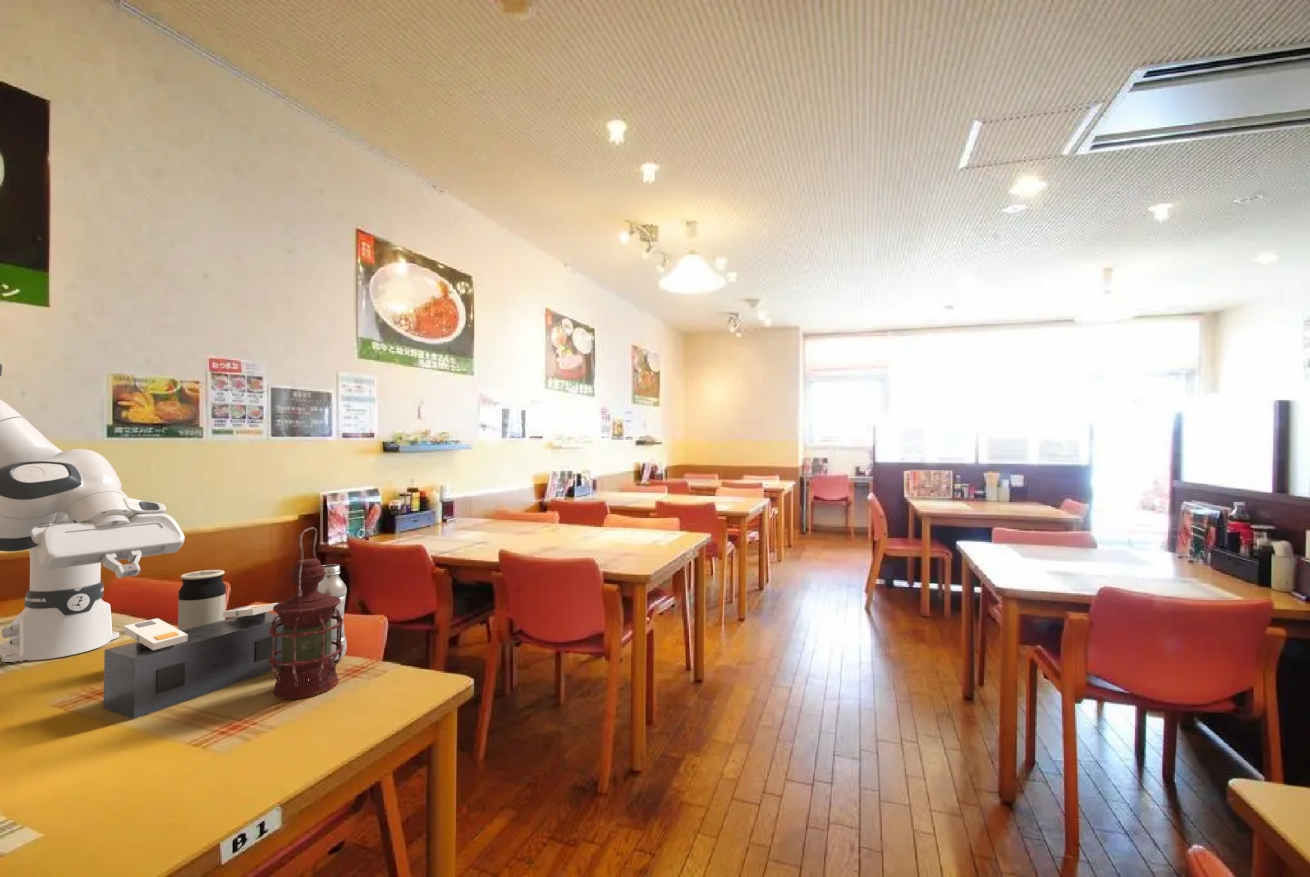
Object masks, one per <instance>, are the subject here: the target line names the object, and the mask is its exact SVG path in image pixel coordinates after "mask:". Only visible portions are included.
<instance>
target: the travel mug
mask: <svg viewBox="0 0 1310 877" xmlns="http://www.w3.org/2000/svg"><path fill="white" fill-rule="evenodd" d="M224 574H226V573H225V570H222V569H208V570H206V569H205V570H198V571H192V572H187V573H183V574H181V575H180V576H179V577H180V579H181V581H182V586H181V587H180V589H179V590H178V602H177V603H178V604H177V605H178V607H177V608H178V611H177V612H178V614H177V615H178V616H177V617H178V618H177V629H178V630H180V631H182V630H186V629H190V628H194V627H198V626H202V625H206V624H210V623H214V622H218V621H222V620H226V618H223V612H225V611H226V599H227V598H226V597H227V596H226V592H227V590H226V589H227V588H226V584H225V582H224V581H223V578H224V577H223V576H224Z"/></svg>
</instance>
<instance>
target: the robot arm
mask: <svg viewBox="0 0 1310 877" xmlns="http://www.w3.org/2000/svg"><path fill="white" fill-rule="evenodd" d="M2 372H3V365H2V363H1V362H0V377H1V376H2ZM166 511H167V507H166V505H165V504H163V503H162V502H155V501H148V500H142V499H141V500H140V499H136V498H132V497H128V495H127V494H126V493H125V492H124V491H123V489H122V482H121V479H120V477H119V476H118V474H117V472H116V471H115V469H114V467H113V465H112V464H111V463H110V461H108V460H107V458H105V457H104V456H103V455H102V454H100V453H98V452H97V451H94V450H91V449H86V448H85V449H84V448H73V449H68V450H64V451H63V450H61V449H60V448H59V447H57V446H56V445H55V444H54V443H52V442H51V441H50V440H49V439H48V438H46V436H45V435H44V434H42V433H41V432H40V431H39V430H38V429H37V428H36V427H35V426H34V425H32V423H31V422H29V421H28V419H26V418H25V417H24V416H23V415H22V414H20V413H19V412H18V411H17V410H15V408H13V407H12V406H10V405H9V404H8V403H7V402H5V401H4V400H2V398H0V552H9V553H10V552H11V553H12V552H21V551H27V550H28V554H29V589H28V590H27V591H26V594H25V596H24V600H25V601H24V603H23V604H24V605H23V606H24V609H23V610H22V611H21V612H19V614H18V615H17V616H16V618H14V619H13V620H12V621H11V624H10V626H6V627H3V628H2V629H1V630H2V631H1V635H2V636H1V637H2V639H7V638H9V641H5V642H2V643H0V658H1V660H3V661H4V662H13V661H20V662H24V661H23V660H28V661H40V660H49V659H55V658H62V657H63V658H64V657H67V656H74V655H77V654H81V653H85V652H88V651H92V650H95V649H98V648H101V647H104V646H105V645H107V644H108V643H110V641H112V640H115V639H117V638H119V637H120V632H119V631H113V628H112V626H113V625H112V624H113V623H112V612H111V611H112V610H111V604H110V603H109V602H107V601H104V600H103V599H102V598H103V597H104V590H105V589H104V588H105V587H104V582H103V581H102V580H101V577H102V576H101V575H102V574H101V573H102V566H103V567H104V568H106V569H107V570H110V571H111V572H114V574H115V576H116V578H117V579H121V578H126V577H127V578H128V577H135V576H139V575H140V573H141V570H142V569H141V566H140V564H139V562H140V560H141V558H143V557H151V556H158V555H166V554H172V553H173V554H175V553H177V552H178V551H180V548H181V547H182V546H183V544H184V543H185V539H186V537H185V534H184V532H183V531H182V529H181V527H180V525H179V524H178V522H177V521H176V519H175V518H173V517H172V516H171V515H169V514H167V513H166ZM122 560H127V562H128V563H127V564H123V563H121V562H120V561H122ZM1 660H0V661H1ZM13 663H14V662H13Z"/></svg>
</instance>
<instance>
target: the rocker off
mask: <svg viewBox="0 0 1310 877" xmlns="http://www.w3.org/2000/svg"><path fill="white" fill-rule="evenodd" d="M278 603H279V602H273V603H264V604H252V605H246V606H244V605H243V606H241V607H236V608H232V609H229V610H225V612H223V618H225V619H229V618H235V617H239V616H250V615H256V614H260V613H264V612H271V611H274V610H273V607H274V606H275V605H276V604H278Z"/></svg>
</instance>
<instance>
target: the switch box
mask: <svg viewBox="0 0 1310 877" xmlns="http://www.w3.org/2000/svg"><path fill="white" fill-rule="evenodd" d="M277 616H279V615H278V614H277V613H276V612H271V611H268V612H264V613H260V614H256V615H250V616H239V617H229V618H225V620H222V621H218V622H214V623H210V624H206V625H202V626H198V627H194V628H190V629H186V630H182V632H184V633H186V634H188V639H187V641H186V642H182V643H179V644H175V645H171V646H167V647H163V648H160V649H156V650H152V649H150V648H148V647H147V646H145V645H143V644H142V643H140V642H138V641H135V642H129V643H127V644H123V645H119V646H115V647H110V648H105V649H104V655H103V656H104V658H103V660H104V661H103V663H104V665H103V666H104V667H103V702H102V703H103V704H102V705H103V708H104V709H106V710H109V711H110V712H114V713H116V714H120V715H122V716H123V717H124V716H125V717H127V716H128V717H127V718H130V717H131V718H130V719H132V718H133V720H135V718H136V719H138V718H137V717H139V716H142V717H144V716H147V715H150V714H152V713H151V712H153V713H156V712H158V711H162V710H164V708H165V709H167V708H169V707H173V706H176V705H179V704H181V703H184V702H188V701H191V700H192V699H196V698H199V697H201V696H205V695H207V694H211V693H213V692H216V691H219V690H222V689H224V688H228V687H230V686H234V685H236V684H239V683H242V682H246V681H247V680H250V679H254V678H256V677H259V676H262V675H265V674H268V673H270V672H273V671H272V666H271V663H270V662H269V656H270V654H271V653H272V635H271V634H270V633H269V629H270V627H272V622H273V620H274V618H275V617H277ZM278 620H279V617H278V618H277V619H276V620H275V623H276V622H277V621H278ZM279 623H281V622H279ZM283 626H284V625H281V626H279V627H277V628H276V633H281V634H283ZM282 638H283V637H277V636H276V638H275V651H277V650H280V649H282ZM275 661H278V662H283V657H282V652H280V653H278V654H276V655H275ZM276 666H277V667H278V668H281V667H282V666H280V665H276ZM275 669H276V668H275ZM166 707H167V708H166ZM161 709H162V710H161ZM149 713H150V714H149ZM146 714H147V715H146ZM143 715H144V716H143ZM139 718H140V717H139Z"/></svg>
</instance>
